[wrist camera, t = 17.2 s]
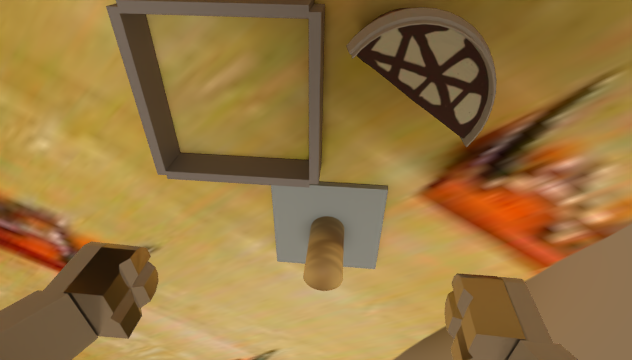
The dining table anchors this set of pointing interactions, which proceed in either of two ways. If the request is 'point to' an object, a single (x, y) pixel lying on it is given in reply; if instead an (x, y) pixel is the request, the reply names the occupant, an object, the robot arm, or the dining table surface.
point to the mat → (334, 201)
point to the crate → (154, 106)
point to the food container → (433, 64)
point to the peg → (325, 254)
